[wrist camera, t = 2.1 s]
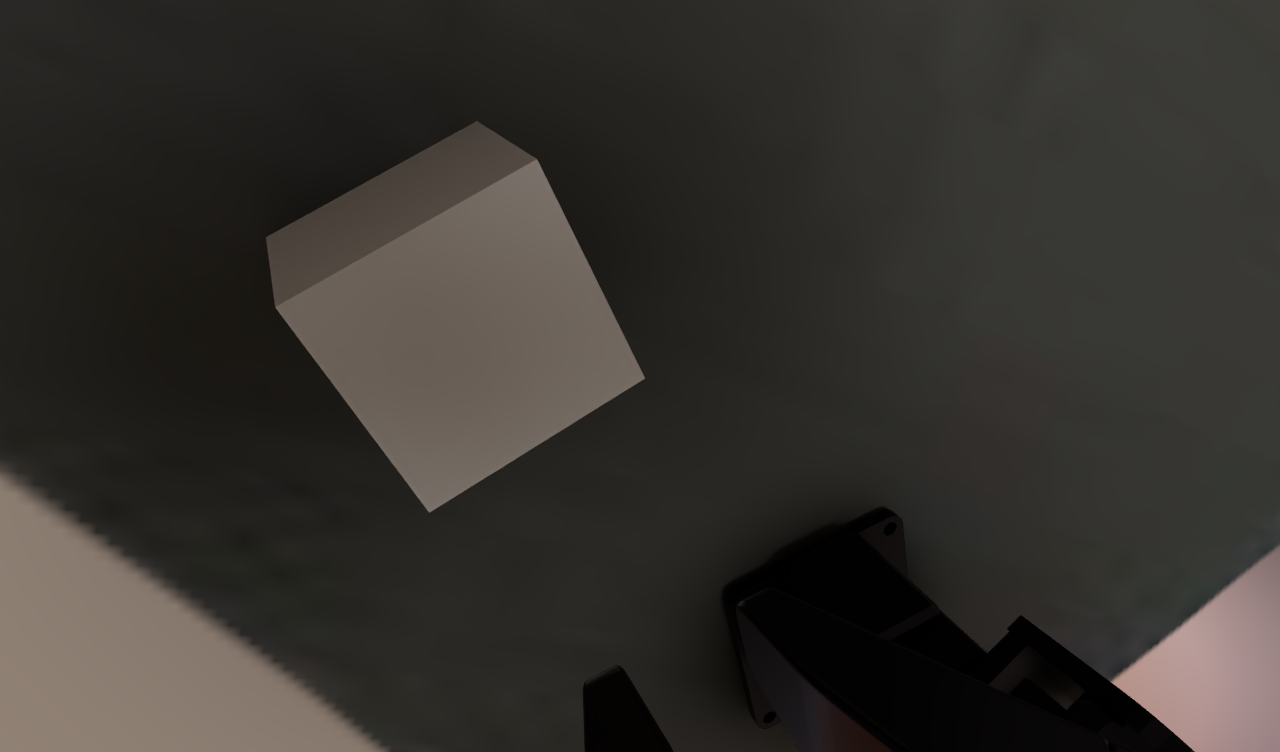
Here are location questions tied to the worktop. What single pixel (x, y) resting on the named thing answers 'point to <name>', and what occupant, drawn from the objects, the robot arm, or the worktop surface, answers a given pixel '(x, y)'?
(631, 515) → the worktop surface
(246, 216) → the worktop surface
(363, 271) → the grey block
